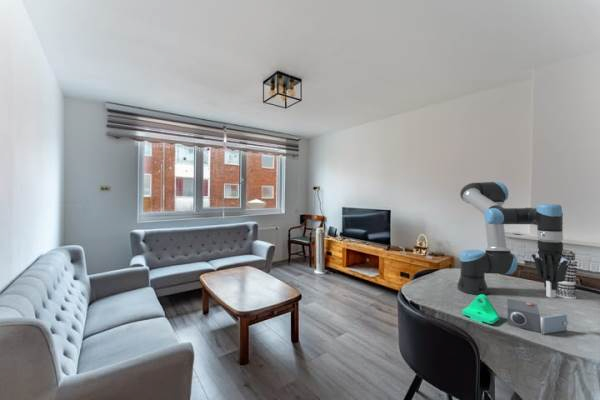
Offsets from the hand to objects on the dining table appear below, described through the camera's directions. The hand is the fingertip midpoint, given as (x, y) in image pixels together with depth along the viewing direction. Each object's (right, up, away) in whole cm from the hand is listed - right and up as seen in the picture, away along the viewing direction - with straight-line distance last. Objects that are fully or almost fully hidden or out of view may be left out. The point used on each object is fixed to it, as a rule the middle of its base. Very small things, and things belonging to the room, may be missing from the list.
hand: (551, 296), depth 104 cm
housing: (-8, -13, +5) cm, 16 cm away
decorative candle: (+40, -12, +31) cm, 52 cm away
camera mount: (-23, -14, +9) cm, 29 cm away
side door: (-2, -13, -3) cm, 14 cm away
